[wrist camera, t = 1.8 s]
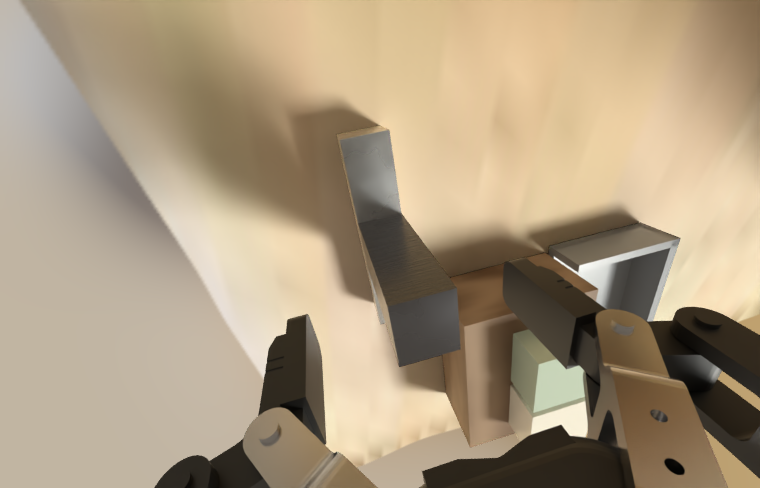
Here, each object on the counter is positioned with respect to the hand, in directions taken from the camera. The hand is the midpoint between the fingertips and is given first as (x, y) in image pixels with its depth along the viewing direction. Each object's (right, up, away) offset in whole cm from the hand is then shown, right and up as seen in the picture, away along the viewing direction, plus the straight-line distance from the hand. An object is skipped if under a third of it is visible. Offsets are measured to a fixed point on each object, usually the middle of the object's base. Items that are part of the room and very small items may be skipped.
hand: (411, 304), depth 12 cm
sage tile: (+10, -5, +9) cm, 14 cm away
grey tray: (+17, -3, +15) cm, 23 cm away
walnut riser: (+8, -5, +14) cm, 17 cm away
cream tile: (+11, -9, +11) cm, 18 cm away
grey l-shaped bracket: (-2, +4, +8) cm, 9 cm away
